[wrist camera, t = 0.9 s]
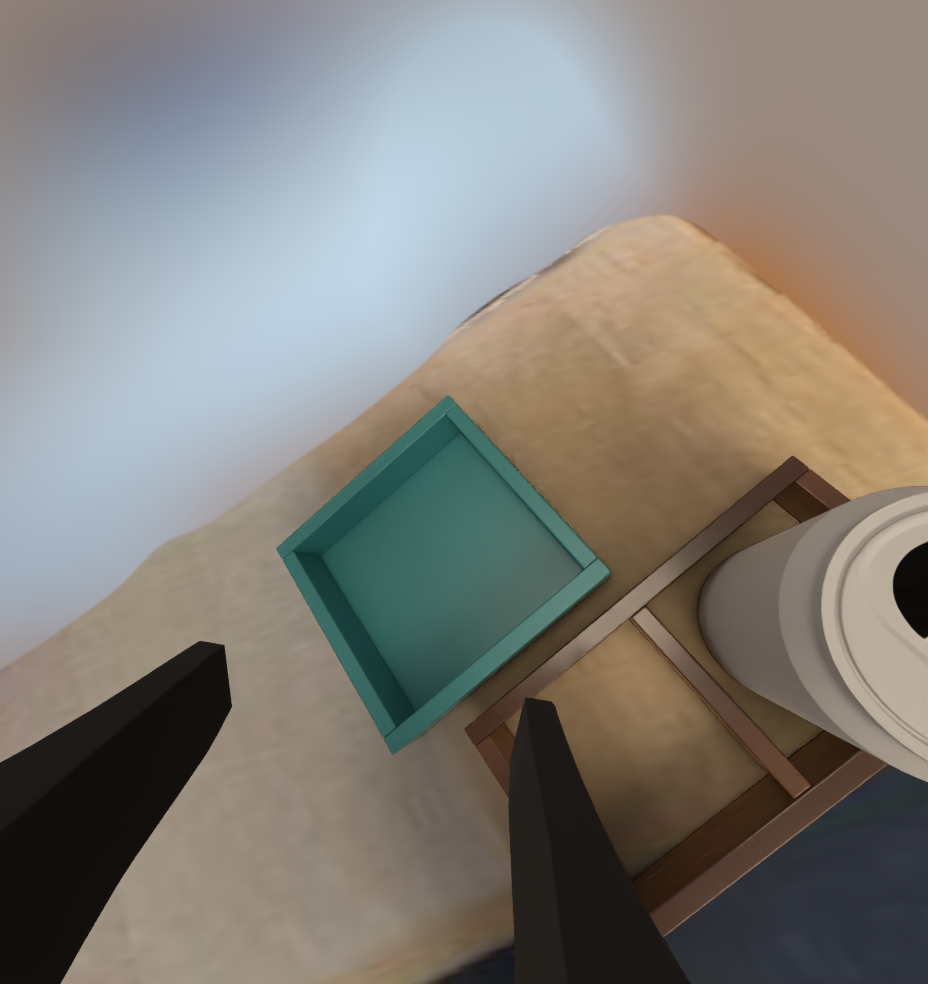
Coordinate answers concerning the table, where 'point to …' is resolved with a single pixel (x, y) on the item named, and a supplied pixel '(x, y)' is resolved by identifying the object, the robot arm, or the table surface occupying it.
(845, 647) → the beverage can
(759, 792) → the brown divided tray
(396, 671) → the teal square tray
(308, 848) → the table surface
